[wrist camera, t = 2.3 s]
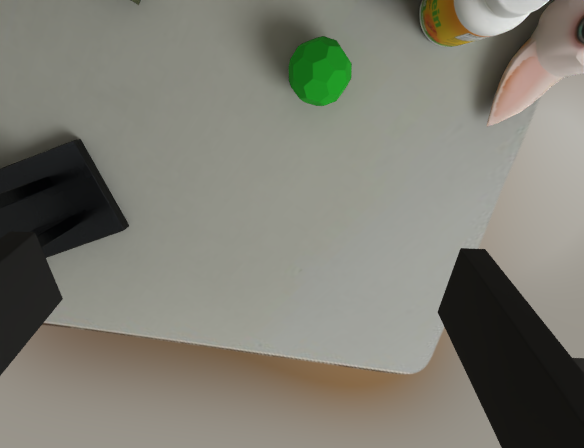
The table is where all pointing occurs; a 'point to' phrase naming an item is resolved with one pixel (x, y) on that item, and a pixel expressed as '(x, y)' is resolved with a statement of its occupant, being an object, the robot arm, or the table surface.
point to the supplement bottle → (472, 18)
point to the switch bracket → (58, 199)
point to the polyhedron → (319, 71)
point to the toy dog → (542, 59)
